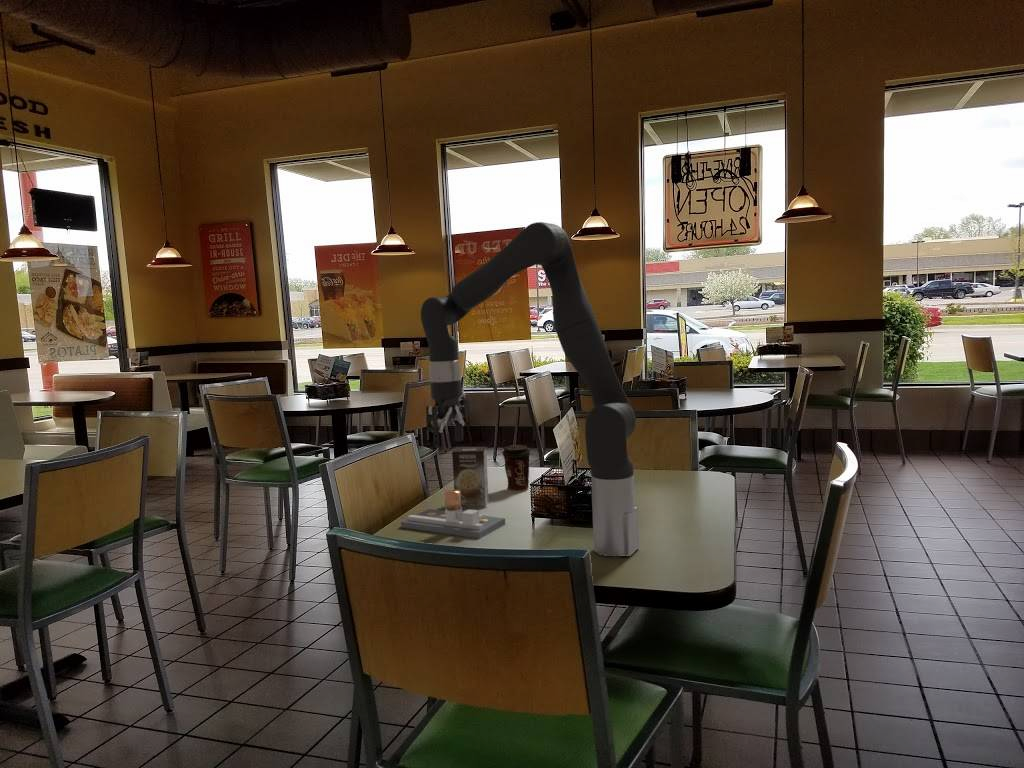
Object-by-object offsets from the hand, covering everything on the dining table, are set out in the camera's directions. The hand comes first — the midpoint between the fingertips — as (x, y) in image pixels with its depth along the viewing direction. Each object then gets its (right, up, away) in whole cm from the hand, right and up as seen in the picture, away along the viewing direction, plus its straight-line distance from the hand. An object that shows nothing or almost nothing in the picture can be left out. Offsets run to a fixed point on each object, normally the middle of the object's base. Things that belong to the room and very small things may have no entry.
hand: (449, 444), depth 179 cm
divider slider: (+2, -19, +3) cm, 20 cm away
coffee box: (+4, -19, +25) cm, 32 cm away
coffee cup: (+17, -17, +39) cm, 46 cm away
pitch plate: (0, -21, +6) cm, 22 cm away
